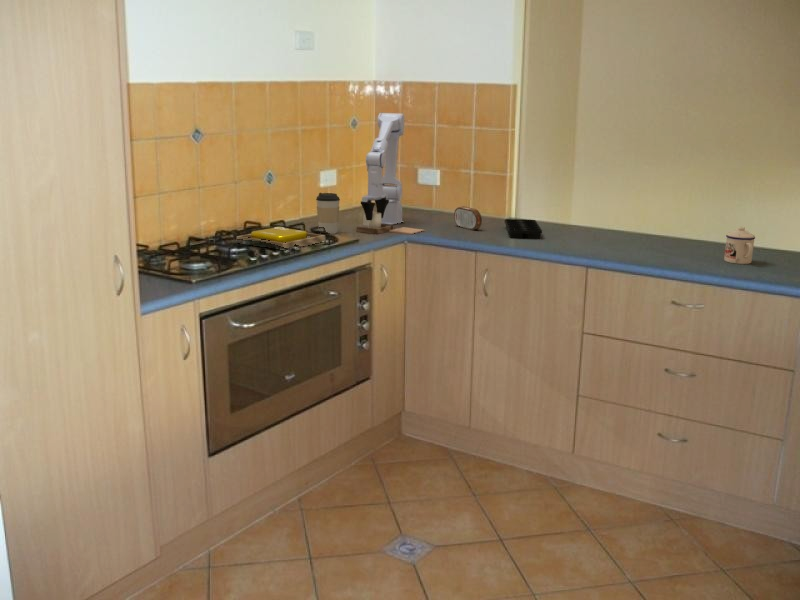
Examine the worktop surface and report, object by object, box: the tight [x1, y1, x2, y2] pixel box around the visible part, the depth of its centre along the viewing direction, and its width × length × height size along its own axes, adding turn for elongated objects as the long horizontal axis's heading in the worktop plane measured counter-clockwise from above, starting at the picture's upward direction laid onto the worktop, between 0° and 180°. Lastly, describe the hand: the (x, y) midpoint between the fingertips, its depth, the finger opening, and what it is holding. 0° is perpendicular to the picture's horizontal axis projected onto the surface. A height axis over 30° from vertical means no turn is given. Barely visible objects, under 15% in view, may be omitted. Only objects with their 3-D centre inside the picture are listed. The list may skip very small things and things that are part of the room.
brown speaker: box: [453, 205, 483, 231], centre depth 344 cm, size 15×3×8 cm, turn 34°
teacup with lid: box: [723, 226, 756, 265], centre depth 287 cm, size 12×9×12 cm
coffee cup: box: [315, 192, 341, 235], centre depth 327 cm, size 9×9×15 cm
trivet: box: [388, 226, 426, 236], centre depth 334 cm, size 10×10×1 cm
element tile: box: [250, 226, 308, 243], centre depth 305 cm, size 15×15×5 cm
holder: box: [356, 224, 394, 235], centre depth 334 cm, size 11×9×2 cm
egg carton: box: [504, 218, 543, 240], centre depth 338 cm, size 18×30×4 cm, turn 9°
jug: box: [362, 211, 381, 229], centre depth 334 cm, size 8×5×7 cm, turn 57°
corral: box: [236, 232, 326, 248], centre depth 305 cm, size 22×22×2 cm
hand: (374, 219), depth 333 cm, fingers open, 7 cm apart
